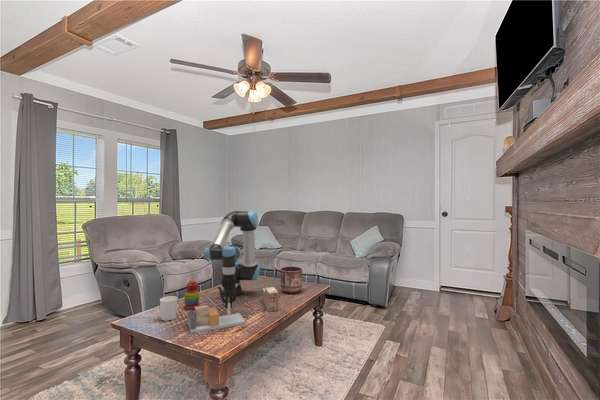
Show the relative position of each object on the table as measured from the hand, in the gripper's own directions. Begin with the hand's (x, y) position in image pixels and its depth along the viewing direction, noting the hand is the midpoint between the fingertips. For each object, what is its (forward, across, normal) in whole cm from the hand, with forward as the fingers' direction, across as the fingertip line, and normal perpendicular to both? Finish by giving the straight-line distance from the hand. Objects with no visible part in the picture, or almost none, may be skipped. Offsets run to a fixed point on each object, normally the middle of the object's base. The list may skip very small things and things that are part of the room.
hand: (228, 313), depth 178 cm
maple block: (+3, -15, 0) cm, 15 cm away
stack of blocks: (+5, +31, +16) cm, 36 cm away
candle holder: (+5, -32, +20) cm, 38 cm away
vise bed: (+5, -7, 0) cm, 8 cm away
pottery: (+5, +57, +39) cm, 69 cm away
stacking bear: (+5, -17, +34) cm, 38 cm away
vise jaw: (+3, -9, 0) cm, 10 cm away
